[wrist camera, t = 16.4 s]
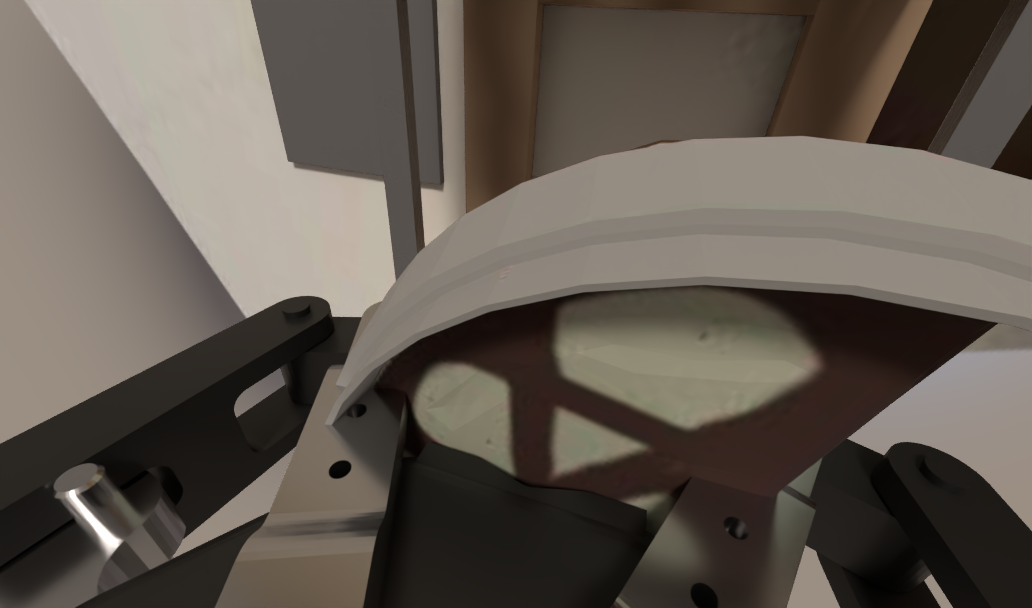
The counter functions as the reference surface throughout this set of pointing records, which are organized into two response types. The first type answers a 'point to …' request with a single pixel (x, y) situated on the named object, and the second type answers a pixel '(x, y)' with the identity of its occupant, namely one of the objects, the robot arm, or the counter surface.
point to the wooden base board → (818, 56)
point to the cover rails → (963, 136)
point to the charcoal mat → (344, 83)
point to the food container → (695, 311)
